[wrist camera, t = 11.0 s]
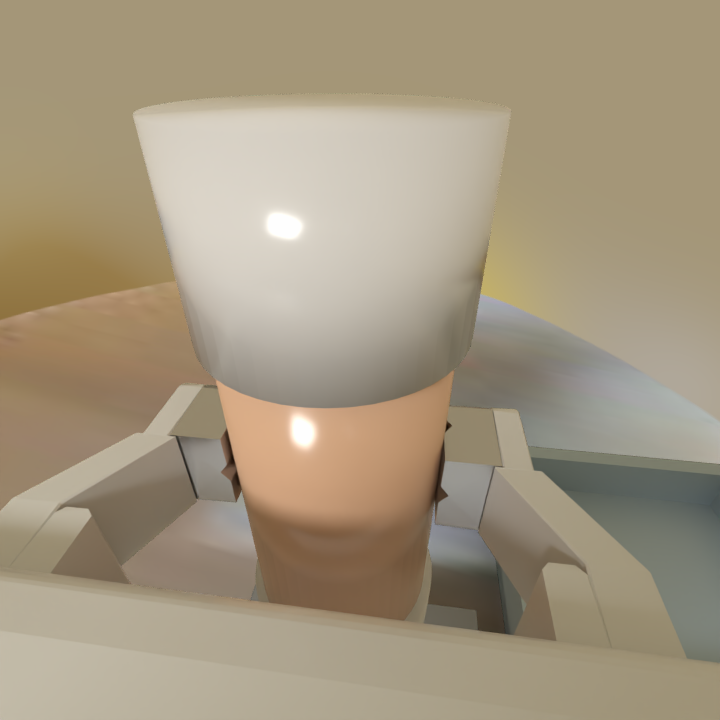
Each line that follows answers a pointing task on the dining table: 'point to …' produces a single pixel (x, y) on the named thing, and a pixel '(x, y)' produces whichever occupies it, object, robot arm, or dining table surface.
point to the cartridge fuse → (331, 315)
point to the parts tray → (648, 532)
